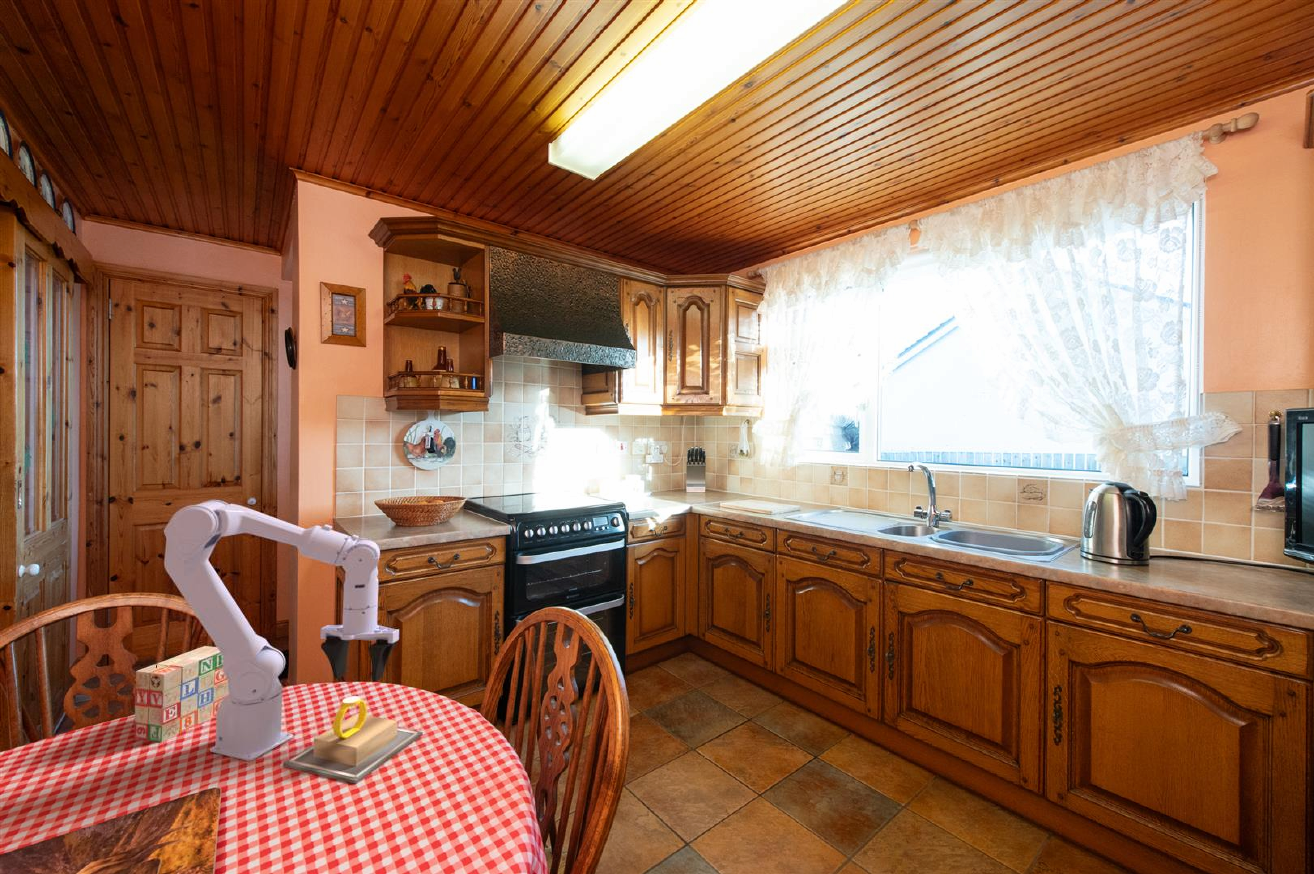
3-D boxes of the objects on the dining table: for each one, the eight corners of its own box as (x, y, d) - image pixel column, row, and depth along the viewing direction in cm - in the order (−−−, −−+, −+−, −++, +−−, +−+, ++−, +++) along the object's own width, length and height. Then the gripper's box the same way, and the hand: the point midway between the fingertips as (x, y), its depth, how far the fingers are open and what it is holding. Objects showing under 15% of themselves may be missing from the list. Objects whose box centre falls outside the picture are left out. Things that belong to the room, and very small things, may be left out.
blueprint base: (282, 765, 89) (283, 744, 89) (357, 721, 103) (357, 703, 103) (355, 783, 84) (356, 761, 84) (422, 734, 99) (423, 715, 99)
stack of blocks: (245, 686, 117) (247, 629, 117) (269, 689, 116) (271, 632, 116) (132, 739, 96) (135, 669, 96) (161, 743, 95) (163, 673, 95)
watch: (356, 726, 95) (359, 691, 96) (369, 728, 95) (372, 693, 95) (328, 741, 90) (331, 704, 90) (341, 743, 89) (344, 706, 89)
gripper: (309, 609, 98) (306, 684, 97) (383, 614, 96) (381, 690, 96) (336, 598, 105) (334, 668, 104) (406, 602, 103) (404, 673, 103)
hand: (358, 678), depth 101 cm, fingers open, 7 cm apart
